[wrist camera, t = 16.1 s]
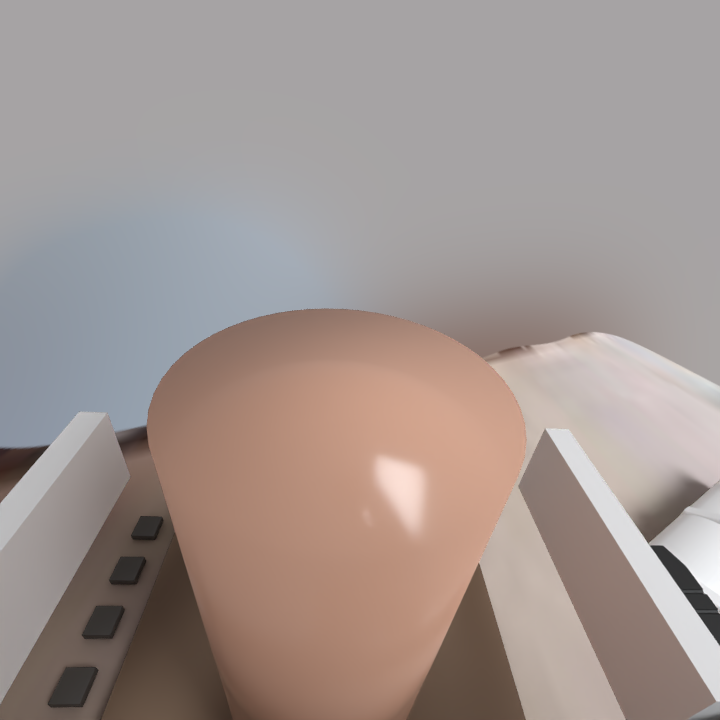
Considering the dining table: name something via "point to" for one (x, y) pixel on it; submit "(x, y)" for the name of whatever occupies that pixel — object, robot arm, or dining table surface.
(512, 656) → the dining table surface
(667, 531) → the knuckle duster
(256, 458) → the canister
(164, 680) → the stub board
